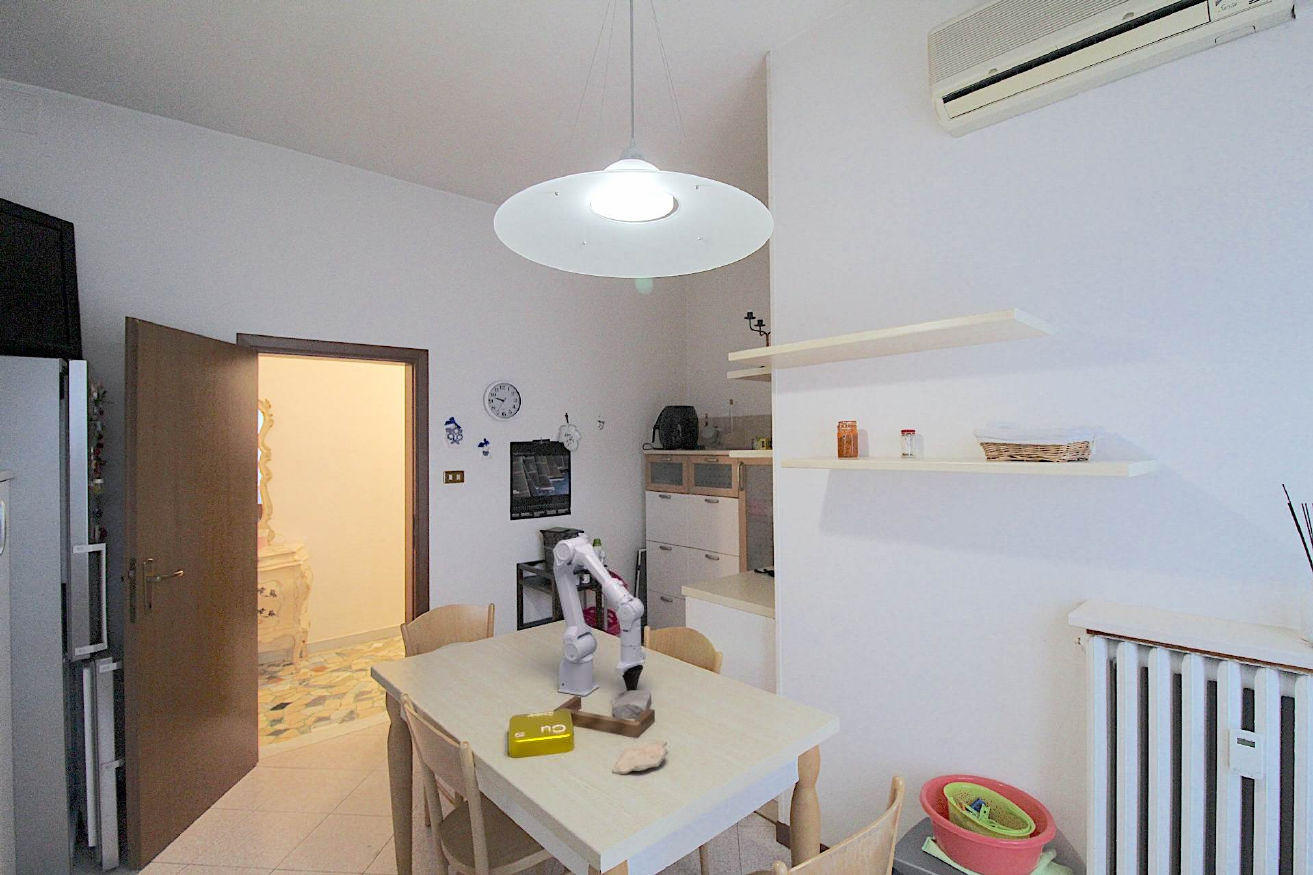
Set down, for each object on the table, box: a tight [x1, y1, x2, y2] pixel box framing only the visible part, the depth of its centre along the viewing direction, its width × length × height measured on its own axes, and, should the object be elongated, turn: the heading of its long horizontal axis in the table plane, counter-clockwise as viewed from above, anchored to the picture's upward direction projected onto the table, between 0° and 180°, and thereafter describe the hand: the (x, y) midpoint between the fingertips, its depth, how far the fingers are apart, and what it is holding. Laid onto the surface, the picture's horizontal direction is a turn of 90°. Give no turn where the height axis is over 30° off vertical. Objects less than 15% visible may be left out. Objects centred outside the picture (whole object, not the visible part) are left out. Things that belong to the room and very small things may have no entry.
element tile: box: [508, 710, 575, 759], centre depth 150 cm, size 15×15×5 cm
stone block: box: [611, 689, 652, 720], centre depth 167 cm, size 12×5×10 cm
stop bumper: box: [553, 695, 656, 739], centre depth 160 cm, size 24×10×3 cm, turn 65°
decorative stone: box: [612, 739, 668, 775], centre depth 139 cm, size 11×4×15 cm
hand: (631, 692), depth 174 cm, fingers closed
